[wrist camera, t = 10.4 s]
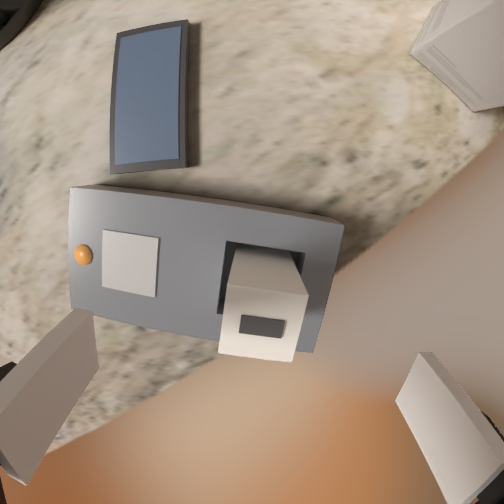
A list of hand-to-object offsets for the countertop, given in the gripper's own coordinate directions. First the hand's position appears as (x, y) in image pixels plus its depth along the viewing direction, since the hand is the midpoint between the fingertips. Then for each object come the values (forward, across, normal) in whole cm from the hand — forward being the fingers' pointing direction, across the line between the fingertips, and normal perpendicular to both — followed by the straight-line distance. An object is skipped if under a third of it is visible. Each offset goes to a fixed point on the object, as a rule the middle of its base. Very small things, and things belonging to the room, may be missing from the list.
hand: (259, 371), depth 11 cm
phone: (+15, -10, +12) cm, 22 cm away
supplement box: (+15, +16, +23) cm, 32 cm away
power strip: (+14, -4, -1) cm, 15 cm away
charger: (+13, 0, -1) cm, 13 cm away
